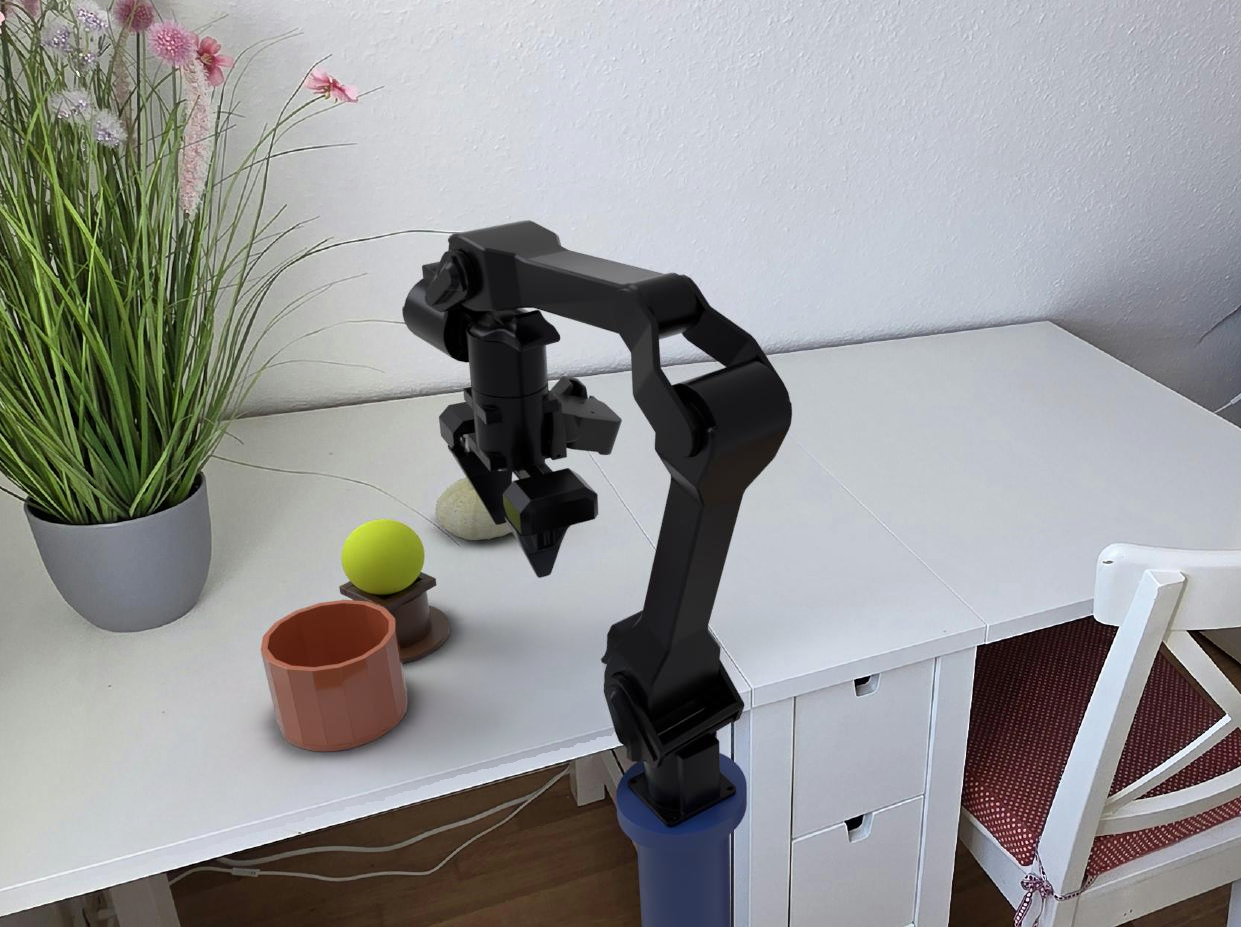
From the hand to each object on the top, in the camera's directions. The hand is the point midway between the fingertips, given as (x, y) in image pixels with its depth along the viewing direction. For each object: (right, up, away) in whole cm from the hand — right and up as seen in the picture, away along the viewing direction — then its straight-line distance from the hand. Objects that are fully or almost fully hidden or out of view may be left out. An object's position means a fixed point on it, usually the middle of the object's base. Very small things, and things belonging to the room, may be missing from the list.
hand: (522, 548), depth 104 cm
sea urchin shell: (-13, +1, +25) cm, 28 cm away
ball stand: (-14, -8, +7) cm, 18 cm away
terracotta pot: (-14, -13, -2) cm, 19 cm away
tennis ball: (-13, -1, +3) cm, 14 cm away
